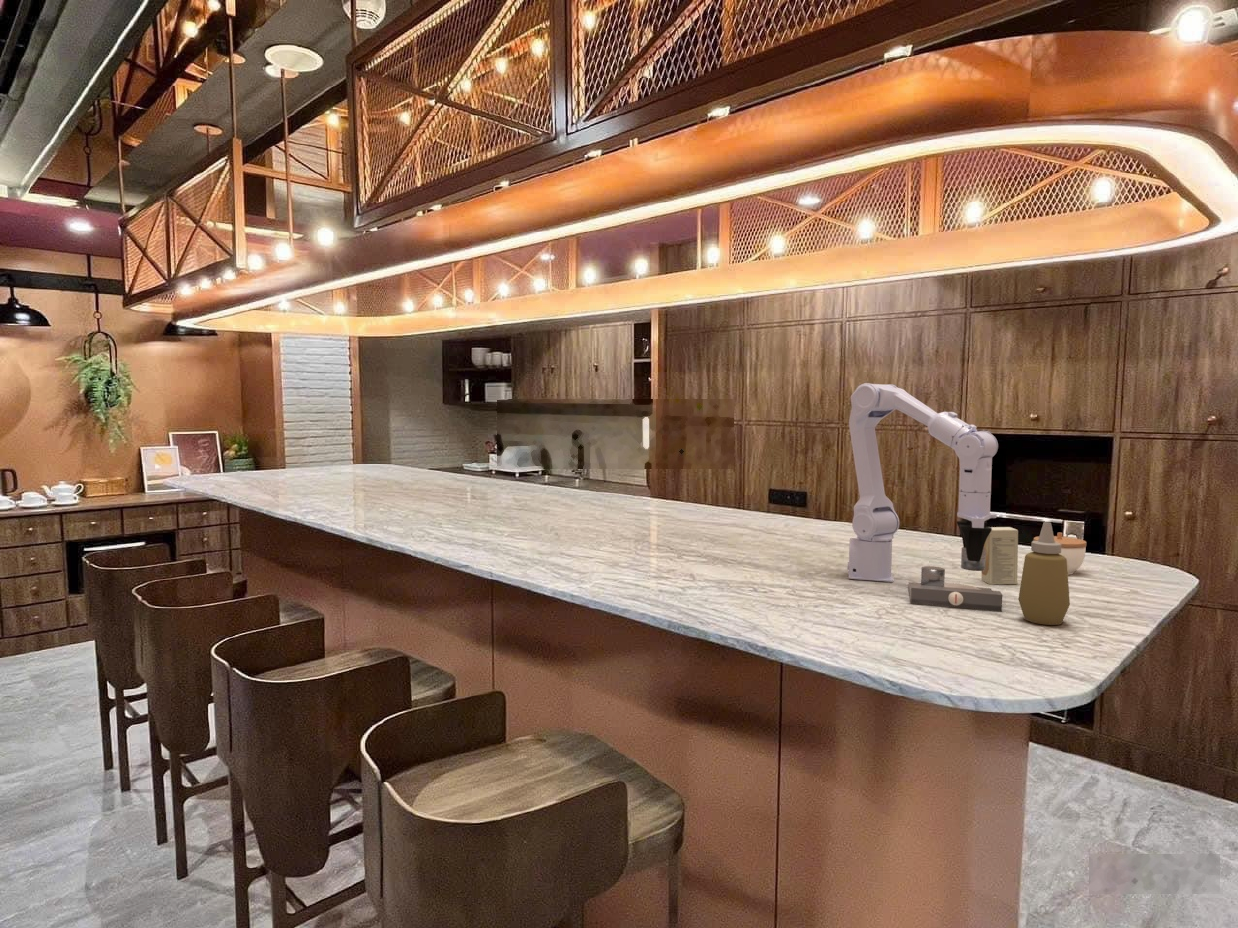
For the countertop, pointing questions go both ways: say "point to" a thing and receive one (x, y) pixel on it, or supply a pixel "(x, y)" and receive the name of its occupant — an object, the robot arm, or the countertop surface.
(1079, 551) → the lidded jar
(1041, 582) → the squeeze bottle
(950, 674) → the countertop surface
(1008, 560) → the skincare box
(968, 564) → the cylinder
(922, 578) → the block
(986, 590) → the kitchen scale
